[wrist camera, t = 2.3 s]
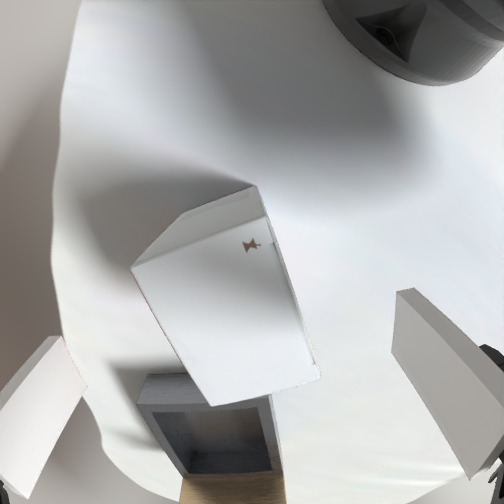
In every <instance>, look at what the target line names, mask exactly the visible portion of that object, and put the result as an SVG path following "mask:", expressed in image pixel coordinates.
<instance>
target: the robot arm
mask: <svg viewBox="0 0 504 504" xmlns="http://www.w3.org/2000/svg"><path fill="white" fill-rule="evenodd" d="M322 1H323V3H324V5H325V8H326V10H327V11H328V13H329V15H330V17H331V18H332V20H333V21H334V23H335V24H336V25H337V27H338V28H339V29H340V31H341V32H342V33H343V34H344V35H345V36H346V38H347V39H348V40H349V41H350V42H351V43H352V44H353V45H354V46H355V47H356V48H358V49H359V50H360V51H361V52H362V53H363V54H364V55H366V56H367V57H368V58H369V59H371V60H372V61H373V62H375V63H376V64H378V65H379V66H381V67H382V68H384V69H386V70H387V71H389V72H391V73H393V74H395V75H397V76H399V77H401V78H403V79H405V80H408V81H411V82H414V83H417V84H422V85H427V86H445V85H449V84H453V83H457V82H460V81H464V80H466V79H468V78H470V77H472V76H474V75H475V74H476V73H477V72H479V71H480V69H481V68H482V67H483V66H484V65H486V64H487V63H488V62H489V61H490V60H491V59H492V58H493V57H494V56H495V55H496V54H497V53H498V52H499V51H500V50H501V49H502V48H503V47H504V0H322ZM391 353H392V354H393V356H394V357H395V359H396V360H397V362H398V363H399V365H400V366H401V368H402V369H403V371H404V372H405V374H406V375H407V377H408V378H409V380H410V381H411V383H412V384H413V386H414V388H415V389H416V391H417V392H418V394H419V395H420V397H421V399H422V400H423V402H424V403H425V405H426V407H427V408H428V410H429V411H430V413H431V415H432V416H433V418H434V420H435V421H436V423H437V425H438V426H439V428H440V429H441V431H442V433H443V435H444V436H445V438H446V440H447V441H448V443H449V445H450V446H451V448H452V450H453V452H454V453H455V455H456V457H457V459H458V461H459V462H460V464H461V466H462V468H463V469H464V471H465V473H466V475H467V477H468V479H469V480H471V479H473V478H475V477H477V476H478V475H480V474H482V473H483V472H485V471H486V470H488V469H490V467H491V466H492V465H493V464H494V462H495V461H496V460H497V459H498V457H499V458H500V460H501V461H502V464H501V465H500V466H499V467H498V468H497V470H496V471H495V472H494V473H493V474H492V476H491V477H490V479H489V481H488V483H491V482H492V481H493V480H494V479H495V478H496V477H497V480H496V482H495V483H496V485H495V489H494V493H493V497H492V501H491V504H504V356H503V355H502V354H501V353H500V352H499V351H498V350H496V349H494V348H492V347H490V346H488V345H486V344H484V345H482V346H479V347H478V346H477V345H476V344H475V343H474V342H473V341H472V340H471V339H470V338H469V337H468V336H467V335H466V334H465V333H464V332H463V331H462V330H461V329H459V328H458V327H457V326H456V325H455V324H454V323H453V322H452V321H451V320H450V319H449V318H448V317H447V316H445V315H444V314H443V313H442V312H441V311H440V310H439V309H438V308H437V307H436V306H434V305H433V304H432V303H431V302H430V301H429V300H428V299H427V298H425V297H424V296H423V295H422V294H421V293H420V292H419V291H417V290H416V289H415V288H410V289H406V290H402V291H397V292H396V307H395V320H394V331H393V341H392V350H391ZM86 388H87V385H86V383H85V382H84V380H83V378H82V376H81V374H80V372H79V371H78V369H77V367H76V365H75V363H74V361H73V359H72V357H71V355H70V353H69V351H68V349H67V347H66V345H65V343H64V341H63V338H62V336H49V337H48V338H47V339H46V340H45V341H44V342H43V343H42V344H41V345H40V347H39V348H38V349H37V350H36V351H35V352H34V353H33V354H32V356H31V357H30V358H29V359H28V360H27V361H26V362H25V364H24V365H23V366H22V367H21V368H20V369H19V370H18V372H17V373H16V374H15V375H14V377H13V378H12V379H11V380H10V381H9V382H8V384H7V385H6V386H5V387H4V389H3V390H2V391H1V392H0V504H10V503H9V498H8V494H7V491H6V490H5V489H4V488H3V485H4V484H5V485H6V486H8V487H9V488H10V489H11V490H12V491H13V492H14V493H16V494H18V495H20V496H22V497H24V498H26V499H29V497H30V494H31V492H32V490H33V488H34V486H35V483H36V481H37V479H38V477H39V475H40V473H41V471H42V469H43V467H44V465H45V463H46V460H47V459H48V457H49V455H50V453H51V451H52V449H53V447H54V445H55V443H56V441H57V439H58V437H59V436H60V434H61V432H62V430H63V428H64V426H65V425H66V423H67V421H68V419H69V417H70V416H71V414H72V412H73V410H74V408H75V407H76V405H77V403H78V401H79V400H80V398H81V396H82V394H83V393H84V391H85V389H86Z"/></svg>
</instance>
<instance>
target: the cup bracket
mask: <svg viewBox="0 0 504 504" xmlns="http://www.w3.org/2000/svg"><path fill="white" fill-rule="evenodd" d="M136 405H137V406H138V408H139V410H140V412H141V414H142V415H143V417H144V419H145V420H146V422H147V424H148V425H149V427H150V429H151V430H152V432H153V434H154V435H155V437H156V439H157V440H158V442H159V443H160V445H161V446H162V448H163V449H164V451H165V452H166V454H167V455H168V457H169V458H170V460H171V461H172V463H173V464H174V466H175V467H176V468H177V470H178V471H179V473H180V474H181V475H182V477H183V480H182V486H181V492H180V499H179V504H287V502H286V491H285V481H284V471H283V461H282V451H281V446H280V440H279V434H278V429H277V423H276V418H275V412H274V407H273V401H272V395H271V394H267V395H263V396H259V397H255V398H251V399H246V400H242V401H238V402H233V403H228V404H223V405H217V406H210V405H209V404H208V402H207V400H206V399H205V398H204V396H203V395H202V393H201V392H200V390H199V389H198V387H197V386H196V384H195V382H194V381H193V379H192V378H191V376H190V375H189V373H177V374H151V375H147V378H146V380H145V383H144V385H143V388H142V390H141V393H140V395H139V398H138V400H137V403H136Z"/></svg>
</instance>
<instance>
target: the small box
mask: <svg viewBox="0 0 504 504" xmlns="http://www.w3.org/2000/svg"><path fill="white" fill-rule="evenodd" d="M130 271H131V273H132V275H133V277H134V278H135V280H136V282H137V284H138V286H139V288H140V290H141V292H142V294H143V296H144V298H145V300H146V302H147V304H148V306H149V307H150V309H151V311H152V313H153V315H154V316H155V318H156V320H157V322H158V324H159V325H160V327H161V329H162V330H163V332H164V334H165V335H166V337H167V339H168V341H169V342H170V344H171V346H172V347H173V349H174V351H175V352H176V354H177V356H178V357H179V359H180V361H181V362H182V364H183V365H184V367H185V369H186V370H187V372H188V373H189V375H190V376H191V378H192V379H193V381H194V382H195V384H196V386H197V387H198V389H199V390H200V392H201V393H202V395H203V396H204V398H205V399H206V400H207V402H208V404H209V405H210V406H217V405H223V404H228V403H233V402H238V401H242V400H246V399H251V398H255V397H259V396H263V395H267V394H271V393H274V392H278V391H282V390H285V389H289V388H292V387H296V386H299V385H302V384H305V383H309V382H312V381H315V380H318V379H320V377H321V371H320V368H319V365H318V362H317V359H316V356H315V353H314V350H313V347H312V344H311V340H310V337H309V334H308V331H307V328H306V325H305V322H304V319H303V316H302V313H301V310H300V307H299V304H298V301H297V298H296V295H295V292H294V289H293V286H292V283H291V280H290V278H289V275H288V272H287V269H286V266H285V263H284V260H283V257H282V254H281V251H280V248H279V245H278V242H277V239H276V236H275V233H274V230H273V228H272V225H271V222H270V219H269V217H268V214H267V211H266V208H265V206H264V203H263V200H262V198H261V195H260V193H259V190H258V188H257V186H252V187H250V188H247V189H245V190H242V191H239V192H236V193H233V194H231V195H228V196H225V197H222V198H220V199H217V200H215V201H212V202H209V203H207V204H204V205H201V206H199V207H196V208H194V209H191V210H189V211H186V212H184V213H182V214H181V215H180V216H179V217H178V218H177V219H176V220H175V221H174V222H173V223H172V224H171V225H170V226H169V227H168V228H167V229H166V230H165V231H164V232H163V233H162V234H161V235H160V236H159V237H158V238H157V239H156V240H155V241H154V242H153V243H152V244H151V245H150V246H149V247H148V248H147V249H146V250H145V251H144V252H143V253H142V254H141V255H140V256H139V257H138V258H137V259H136V260H135V262H134V263H133V264H132V265H131V266H130Z"/></svg>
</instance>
